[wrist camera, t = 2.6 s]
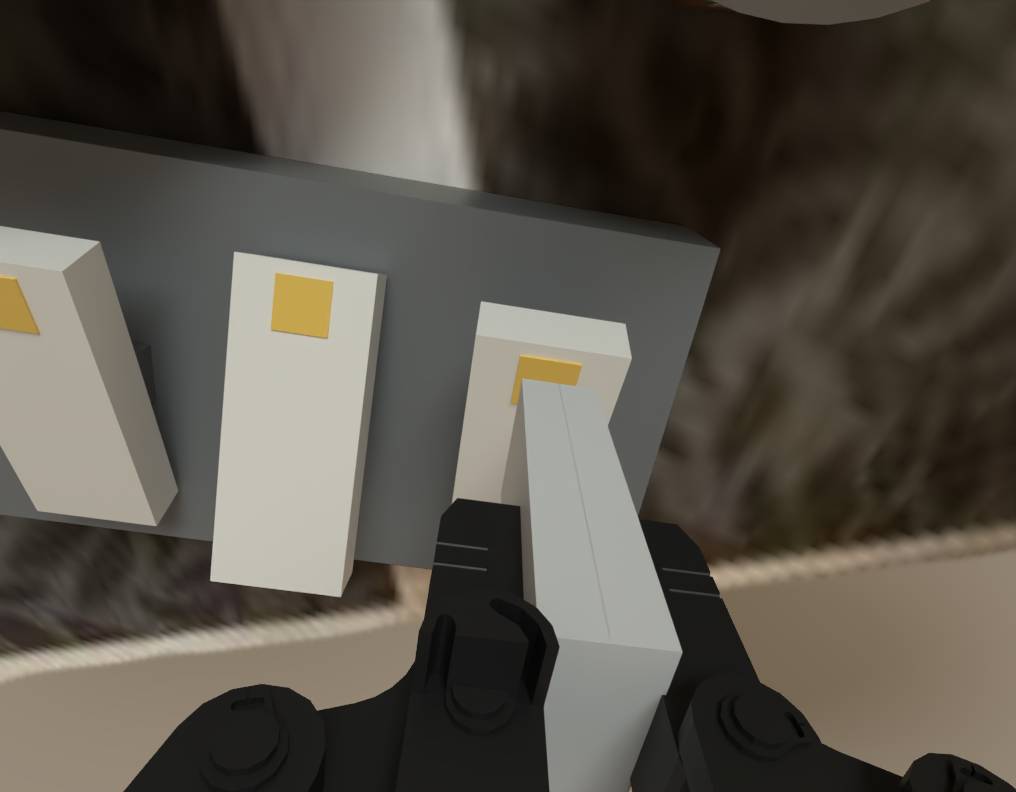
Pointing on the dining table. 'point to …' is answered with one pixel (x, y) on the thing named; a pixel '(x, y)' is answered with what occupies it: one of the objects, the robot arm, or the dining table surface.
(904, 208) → the dining table surface
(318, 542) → the rocker
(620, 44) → the dining table surface
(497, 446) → the block
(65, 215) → the switch unit
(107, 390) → the block
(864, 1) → the food container
